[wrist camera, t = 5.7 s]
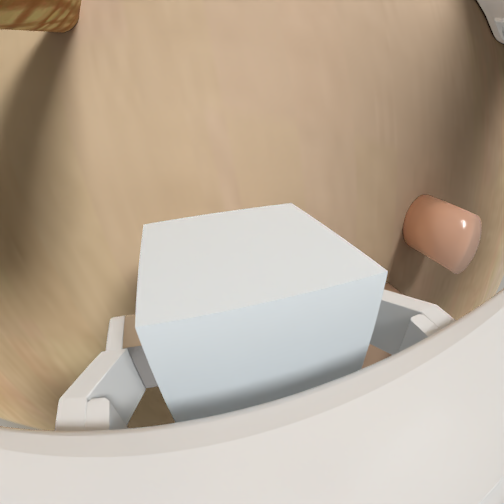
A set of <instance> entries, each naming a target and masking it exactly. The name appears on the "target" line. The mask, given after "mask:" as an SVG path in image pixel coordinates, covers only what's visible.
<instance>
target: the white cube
mask: <svg viewBox="0 0 504 504" xmlns="http://www.w3.org/2000/svg"><path fill="white" fill-rule="evenodd" d="M387 273H388V271H387V270H386V269H384V268H383V267H382V266H380V265H379V264H378V263H376V262H375V261H374V260H372V259H371V258H370V257H368V256H367V255H366V254H364V253H363V252H361V251H360V250H359V249H357V248H356V247H355V246H353V245H352V244H350V243H349V242H348V241H346V240H345V239H343V238H342V237H341V236H339V235H338V234H336V233H335V232H333V231H332V230H331V229H329V228H328V227H326V226H325V225H323V224H322V223H320V222H319V221H317V220H316V219H315V218H313V217H312V216H310V215H309V214H307V213H306V212H304V211H303V210H301V209H300V208H298V207H297V206H295V205H294V204H292V203H288V204H280V205H272V206H264V207H256V208H248V209H241V210H234V211H226V212H219V213H213V214H206V215H199V216H193V217H186V218H180V219H174V220H168V221H162V222H156V223H150V224H144V226H143V233H142V241H141V250H140V260H139V270H138V282H137V296H136V314H135V329H136V332H137V334H138V337H139V340H140V342H141V345H142V348H143V350H144V353H145V355H146V358H147V360H148V363H149V365H150V368H151V370H152V373H153V375H154V377H155V380H156V382H157V384H158V387H159V389H160V391H161V393H162V395H163V398H164V400H165V402H166V404H167V406H168V408H169V410H170V412H171V414H172V417H173V419H174V421H175V423H177V422H183V421H189V420H194V419H200V418H205V417H210V416H215V415H219V414H224V413H228V412H233V411H237V410H241V409H245V408H249V407H253V406H256V405H260V404H264V403H267V402H271V401H274V400H277V399H281V398H284V397H287V396H290V395H294V394H297V393H300V392H303V391H306V390H309V389H311V388H314V387H317V386H320V385H323V384H325V383H328V382H331V381H333V380H336V379H339V378H341V377H344V376H346V375H349V374H351V373H353V372H356V371H358V370H361V368H362V366H363V362H364V359H365V356H366V353H367V350H368V347H369V343H370V340H371V337H372V333H373V330H374V326H375V323H376V319H377V315H378V311H379V308H380V304H381V300H382V295H383V291H384V287H385V282H386V278H387Z"/></svg>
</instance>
